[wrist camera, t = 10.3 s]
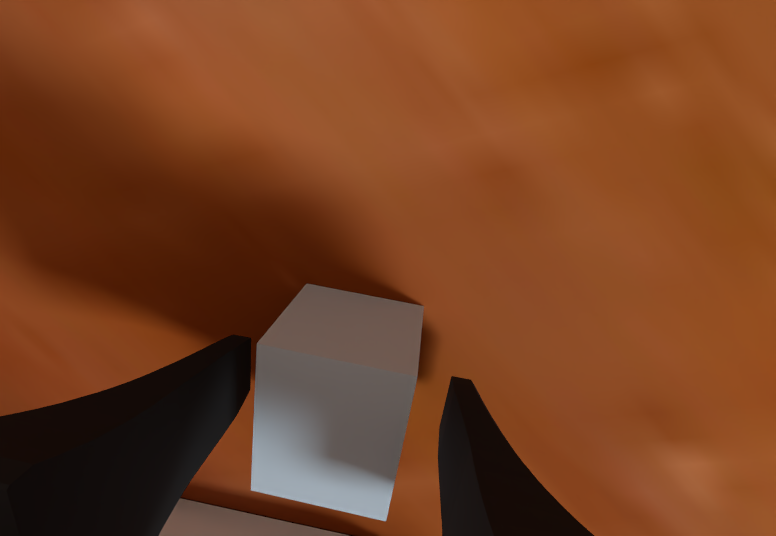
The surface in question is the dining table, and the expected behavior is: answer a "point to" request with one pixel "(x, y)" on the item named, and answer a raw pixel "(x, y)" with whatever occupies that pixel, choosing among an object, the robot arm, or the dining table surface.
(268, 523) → the tote
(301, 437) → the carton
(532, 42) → the dining table surface
